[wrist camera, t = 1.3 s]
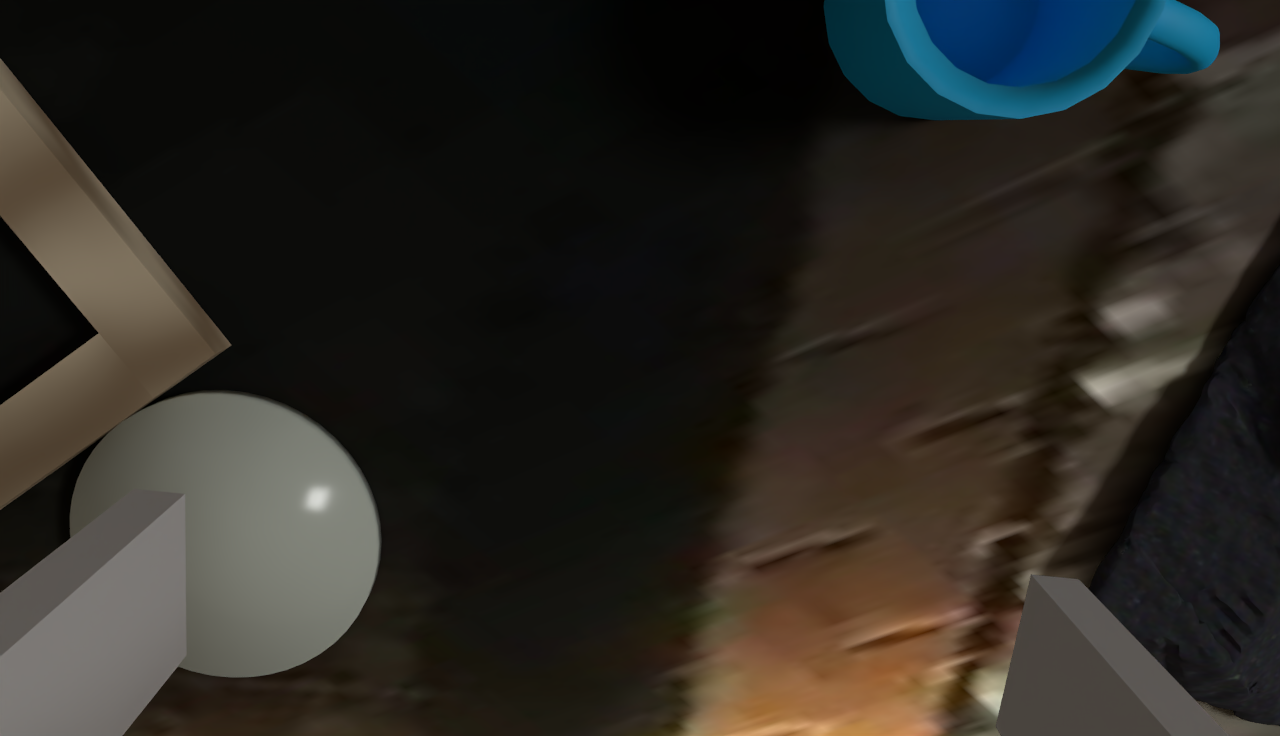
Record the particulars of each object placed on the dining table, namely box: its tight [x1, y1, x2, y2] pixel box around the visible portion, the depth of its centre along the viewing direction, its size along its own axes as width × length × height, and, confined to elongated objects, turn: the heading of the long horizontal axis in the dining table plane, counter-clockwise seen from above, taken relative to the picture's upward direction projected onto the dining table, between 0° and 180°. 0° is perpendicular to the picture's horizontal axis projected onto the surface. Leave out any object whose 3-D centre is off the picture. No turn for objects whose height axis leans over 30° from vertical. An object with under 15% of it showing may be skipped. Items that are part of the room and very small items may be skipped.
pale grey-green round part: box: [70, 390, 382, 677], centre depth 39 cm, size 12×12×1 cm
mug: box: [824, 0, 1220, 120], centre depth 31 cm, size 12×8×8 cm
